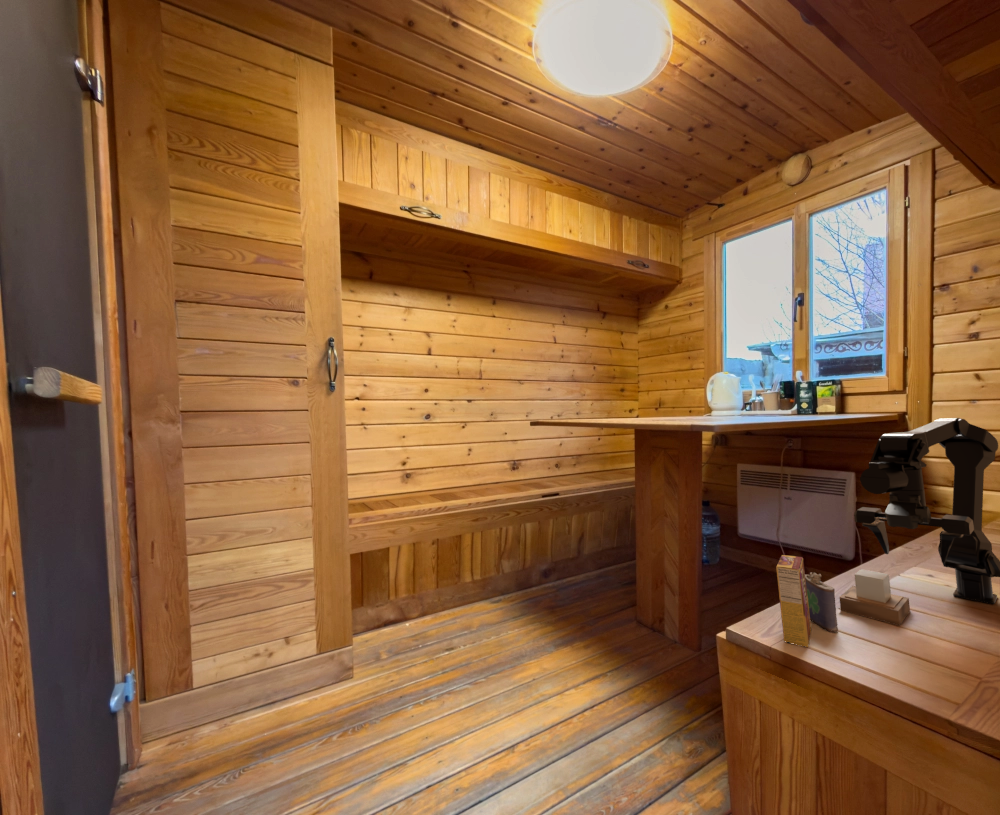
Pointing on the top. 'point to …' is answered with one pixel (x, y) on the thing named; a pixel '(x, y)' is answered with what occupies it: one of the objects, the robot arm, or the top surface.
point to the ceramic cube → (872, 585)
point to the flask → (821, 603)
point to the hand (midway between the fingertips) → (914, 558)
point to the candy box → (793, 600)
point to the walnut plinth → (876, 607)
